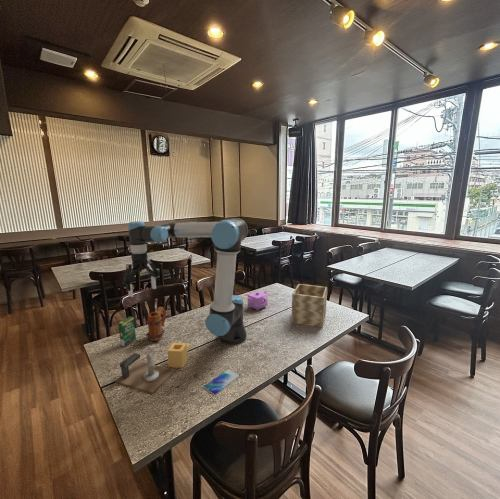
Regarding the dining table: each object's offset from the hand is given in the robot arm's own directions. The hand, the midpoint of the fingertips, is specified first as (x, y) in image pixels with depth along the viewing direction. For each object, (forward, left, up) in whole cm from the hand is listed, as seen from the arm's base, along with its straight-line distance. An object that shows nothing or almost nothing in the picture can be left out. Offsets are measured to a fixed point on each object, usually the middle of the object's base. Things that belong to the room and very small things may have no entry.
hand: (143, 292), depth 141 cm
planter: (-78, -53, -25) cm, 98 cm away
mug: (-5, -3, -26) cm, 26 cm away
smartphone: (-54, +17, -26) cm, 62 cm away
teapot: (-43, -57, -26) cm, 76 cm away
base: (-22, +26, -25) cm, 43 cm away
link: (-28, +9, -25) cm, 39 cm away
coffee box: (+5, +8, -26) cm, 27 cm away
